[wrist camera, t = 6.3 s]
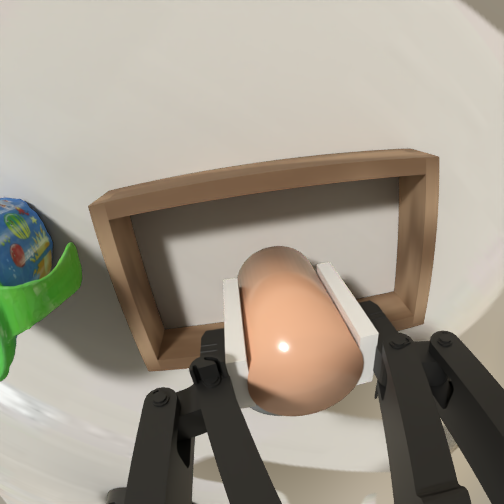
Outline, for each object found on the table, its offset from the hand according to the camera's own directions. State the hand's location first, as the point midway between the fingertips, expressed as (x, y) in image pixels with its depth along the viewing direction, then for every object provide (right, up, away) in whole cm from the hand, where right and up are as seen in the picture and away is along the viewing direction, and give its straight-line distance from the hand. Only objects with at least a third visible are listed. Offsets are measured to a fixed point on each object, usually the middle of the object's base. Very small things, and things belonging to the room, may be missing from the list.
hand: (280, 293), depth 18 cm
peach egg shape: (0, 0, +1) cm, 1 cm away
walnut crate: (0, +2, +4) cm, 5 cm away
